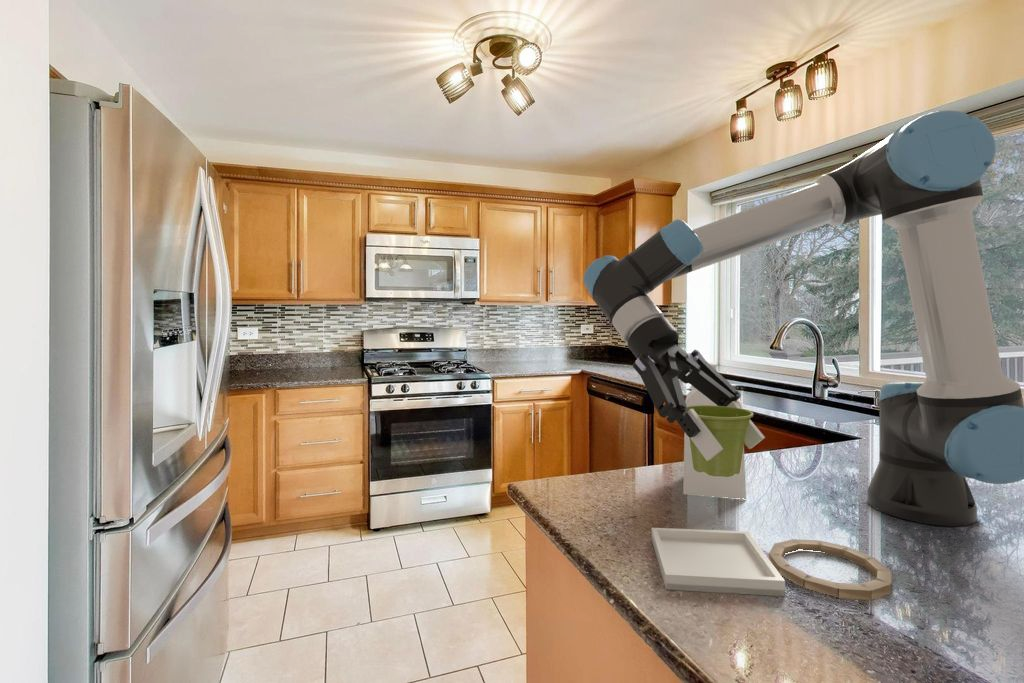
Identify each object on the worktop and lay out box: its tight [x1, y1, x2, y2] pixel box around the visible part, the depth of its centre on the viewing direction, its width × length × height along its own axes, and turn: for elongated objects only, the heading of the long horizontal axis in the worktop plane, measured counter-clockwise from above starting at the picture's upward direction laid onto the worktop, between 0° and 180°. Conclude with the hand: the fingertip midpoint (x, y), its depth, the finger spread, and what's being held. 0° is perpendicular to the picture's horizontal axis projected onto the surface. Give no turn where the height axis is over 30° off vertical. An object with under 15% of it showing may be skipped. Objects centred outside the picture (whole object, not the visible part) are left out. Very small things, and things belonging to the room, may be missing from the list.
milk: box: [682, 361, 747, 500], centre depth 102 cm, size 12×12×26 cm
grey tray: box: [651, 527, 786, 597], centre depth 71 cm, size 15×15×2 cm
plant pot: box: [686, 405, 754, 477], centre depth 70 cm, size 9×9×9 cm
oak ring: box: [768, 538, 893, 601], centre depth 68 cm, size 14×14×1 cm
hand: (736, 448), depth 67 cm, fingers closed on plant pot, 9 cm apart
